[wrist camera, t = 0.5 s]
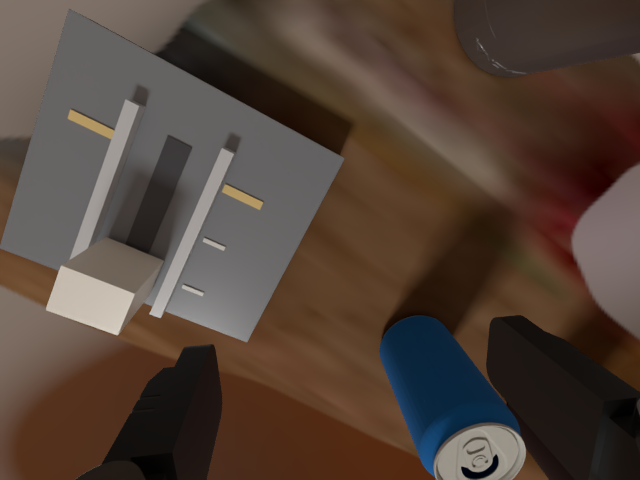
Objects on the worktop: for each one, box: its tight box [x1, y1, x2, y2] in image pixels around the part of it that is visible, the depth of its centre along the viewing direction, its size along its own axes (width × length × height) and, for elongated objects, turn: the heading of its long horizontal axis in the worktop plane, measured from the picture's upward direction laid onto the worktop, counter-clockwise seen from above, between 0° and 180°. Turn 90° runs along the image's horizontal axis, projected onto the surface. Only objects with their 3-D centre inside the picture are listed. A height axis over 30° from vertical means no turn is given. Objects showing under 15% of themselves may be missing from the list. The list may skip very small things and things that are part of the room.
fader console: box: [0, 9, 345, 342], centre depth 24 cm, size 16×18×3 cm
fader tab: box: [46, 237, 164, 335], centre depth 22 cm, size 3×4×5 cm
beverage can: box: [380, 315, 526, 480], centre depth 26 cm, size 6×6×12 cm
